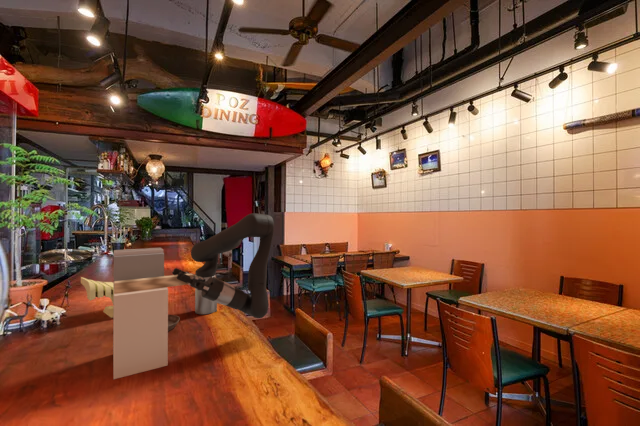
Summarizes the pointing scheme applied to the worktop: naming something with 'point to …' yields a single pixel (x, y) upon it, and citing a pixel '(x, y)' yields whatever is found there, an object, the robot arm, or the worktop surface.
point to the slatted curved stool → (100, 292)
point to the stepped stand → (139, 314)
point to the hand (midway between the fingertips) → (175, 272)
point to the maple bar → (148, 283)
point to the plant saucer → (172, 321)
